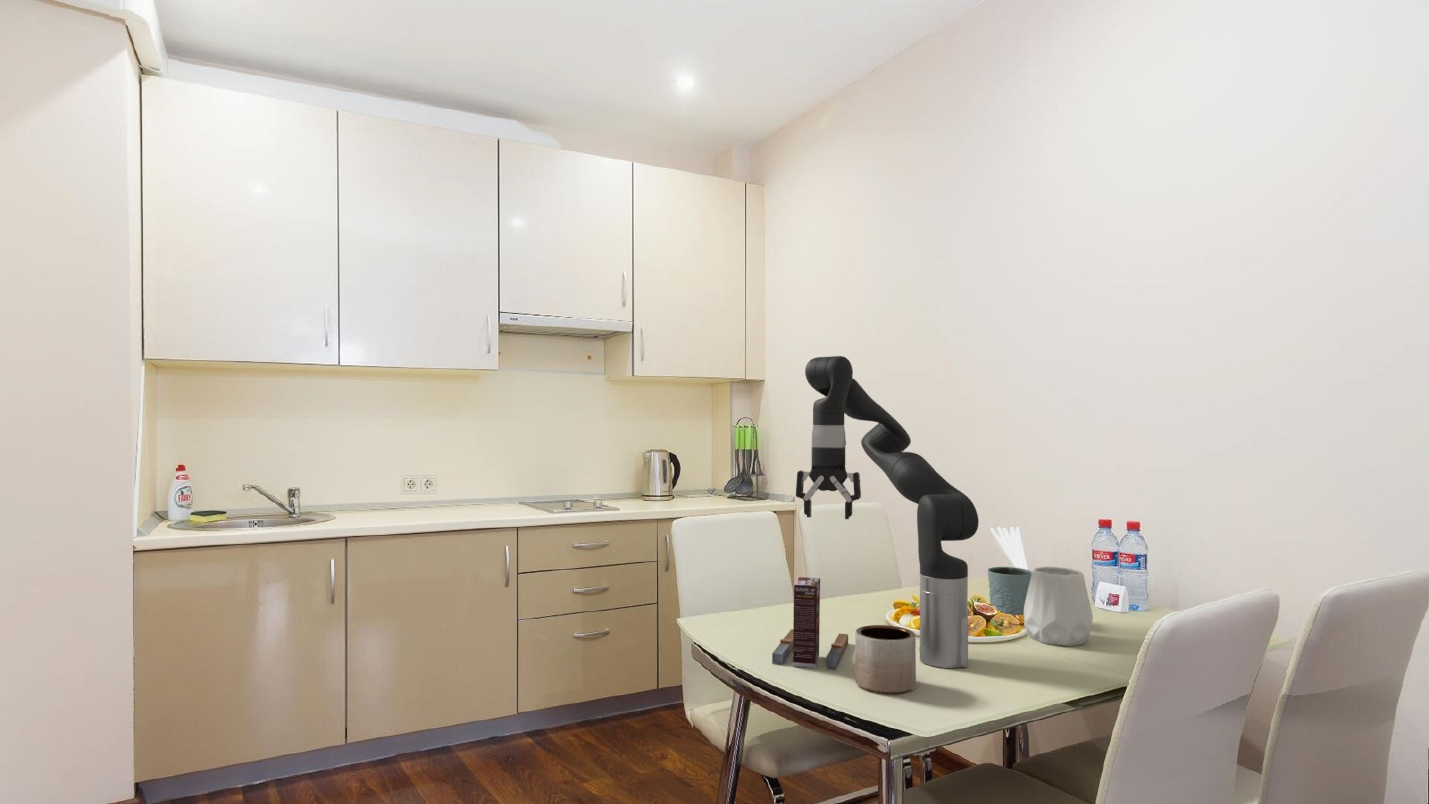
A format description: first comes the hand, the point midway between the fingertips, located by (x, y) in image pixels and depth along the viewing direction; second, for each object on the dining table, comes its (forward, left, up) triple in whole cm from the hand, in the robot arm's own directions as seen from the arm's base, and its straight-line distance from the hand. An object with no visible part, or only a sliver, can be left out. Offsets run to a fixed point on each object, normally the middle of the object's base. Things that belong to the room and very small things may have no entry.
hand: (828, 518), depth 178 cm
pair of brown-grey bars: (+1, +15, -26) cm, 30 cm away
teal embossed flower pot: (-40, -28, -26) cm, 55 cm away
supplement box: (+1, +20, -26) cm, 33 cm away
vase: (-49, -13, -26) cm, 57 cm away
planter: (-15, +30, -26) cm, 43 cm away
